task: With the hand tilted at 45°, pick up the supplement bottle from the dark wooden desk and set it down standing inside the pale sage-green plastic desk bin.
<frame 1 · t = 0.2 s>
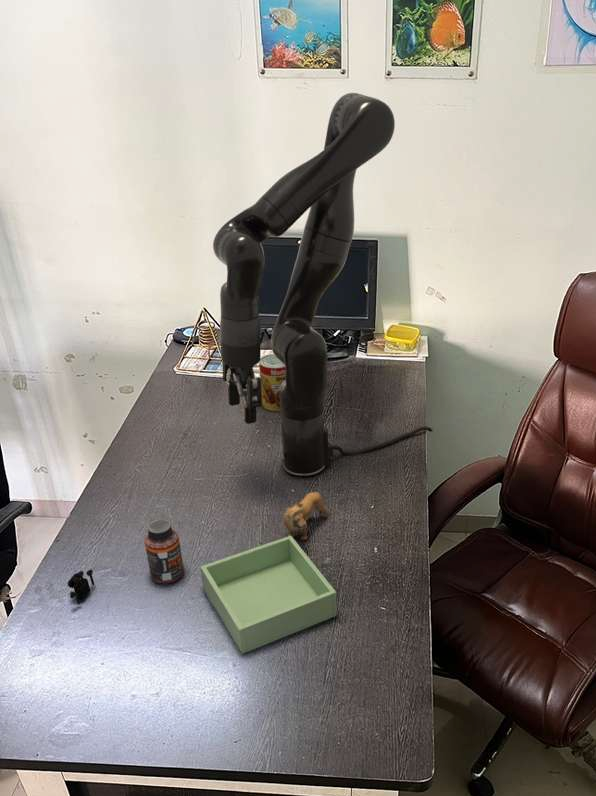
hand: (242, 413, 150), 17 cm above the table, tool pointing down, fingers open, 8 cm apart
desk bin: (269, 602, 131), on the table
supplement bottle: (168, 575, 137), on the table
black animal figurine: (82, 596, 132), on the table
lion figurine: (306, 531, 148), on the table
canned food: (278, 404, 189), on the table
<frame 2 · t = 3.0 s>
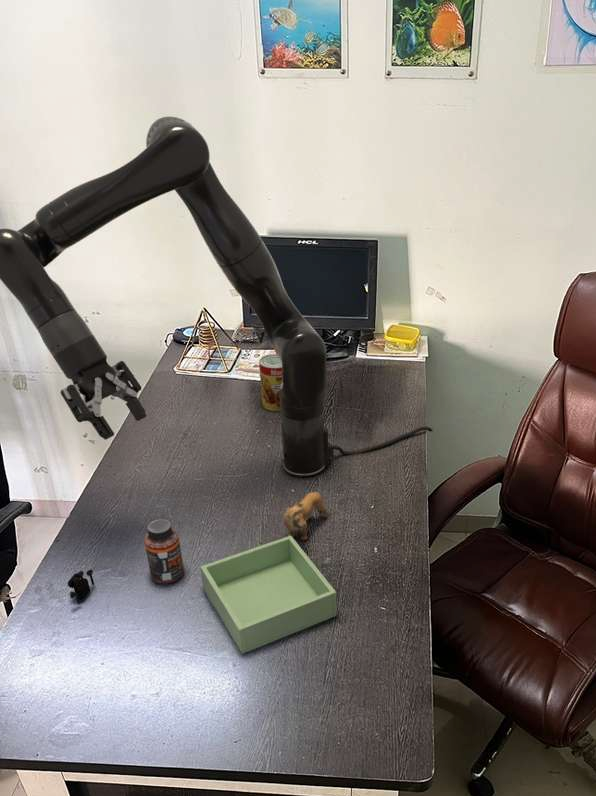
hand: (126, 427, 129), 26 cm above the table, tool tilted 35°, fingers open, 8 cm apart
nothing on the table moved.
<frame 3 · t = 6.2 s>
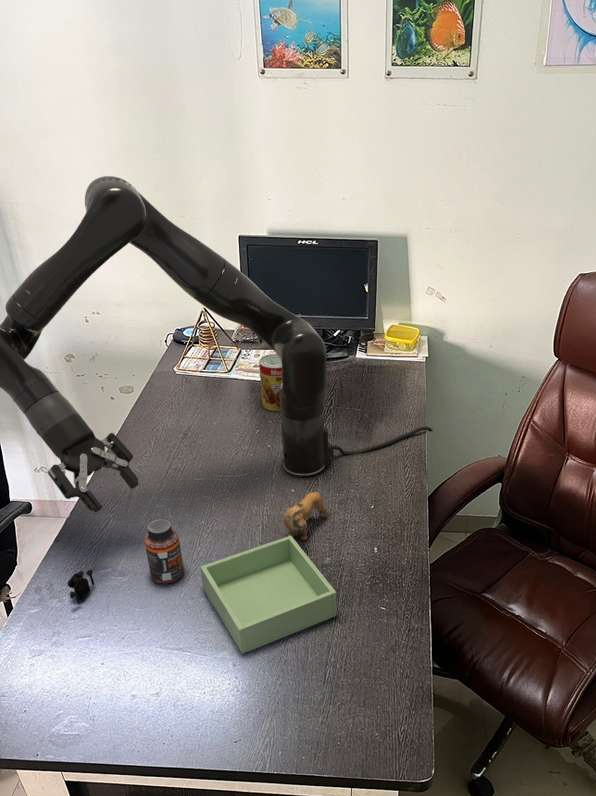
hand: (117, 498, 132), 14 cm above the table, tool tilted 45°, fingers open, 8 cm apart
nothing on the table moved.
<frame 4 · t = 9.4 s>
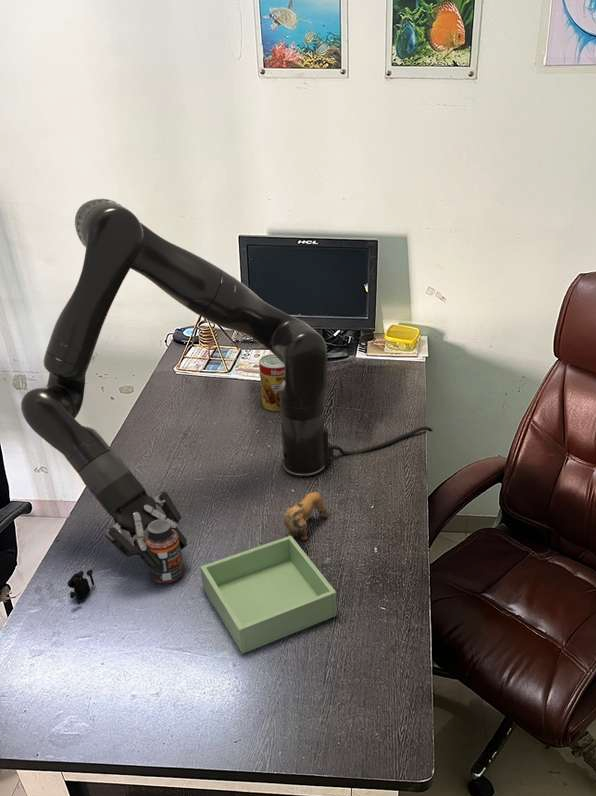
hand: (171, 557, 133), 5 cm above the table, tool tilted 45°, fingers closed on supplement bottle, 6 cm apart
supplement bottle: (168, 575, 137), on the table, touching gripper
everything else where it was.
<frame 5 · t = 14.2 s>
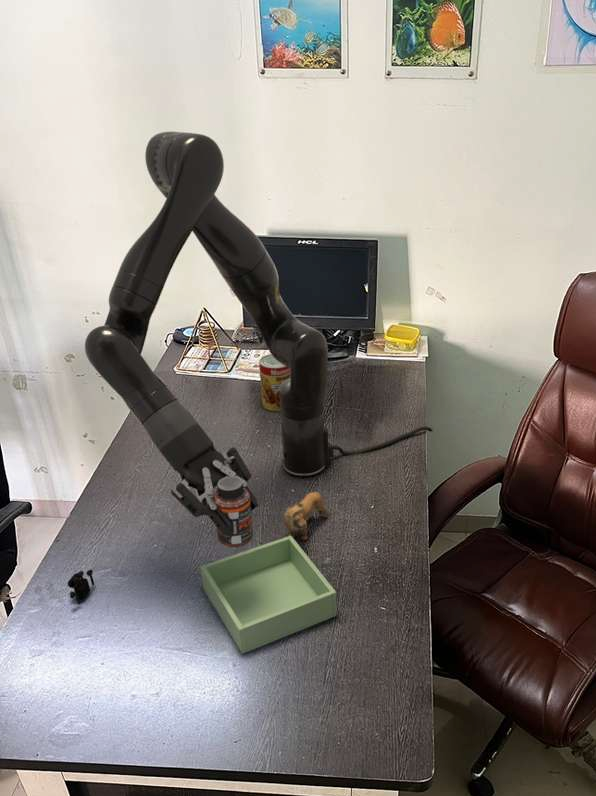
hand: (241, 518, 121), 18 cm above the table, tool tilted 45°, fingers closed on supplement bottle, 6 cm apart
supplement bottle: (236, 538, 125), point 13 cm above the table, touching gripper
everything else where it was.
when the fingers open (6 cm above the table, at t = 18.8 s): supplement bottle stays where it is, resting on desk bin.
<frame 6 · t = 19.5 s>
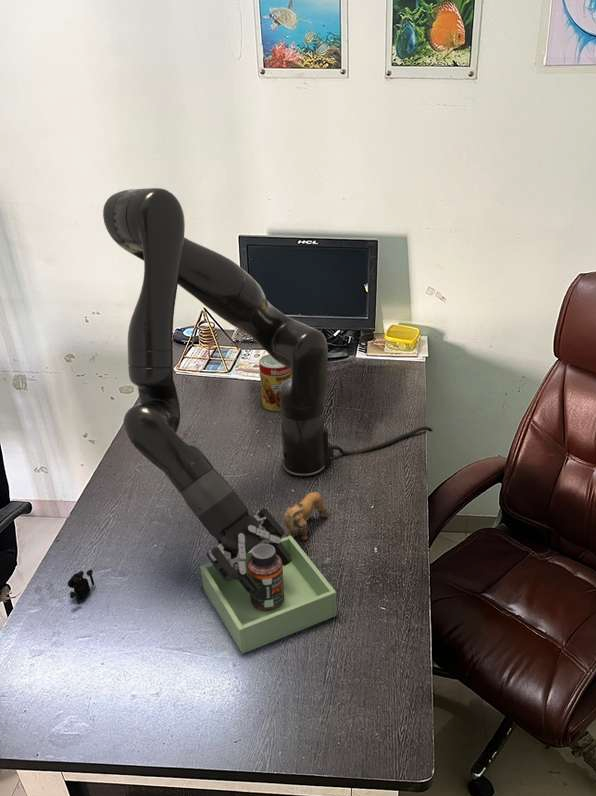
hand: (273, 577, 127), 7 cm above the table, tool tilted 45°, fingers open, 8 cm apart
supplement bottle: (267, 601, 131), resting on desk bin
everything else where it was.
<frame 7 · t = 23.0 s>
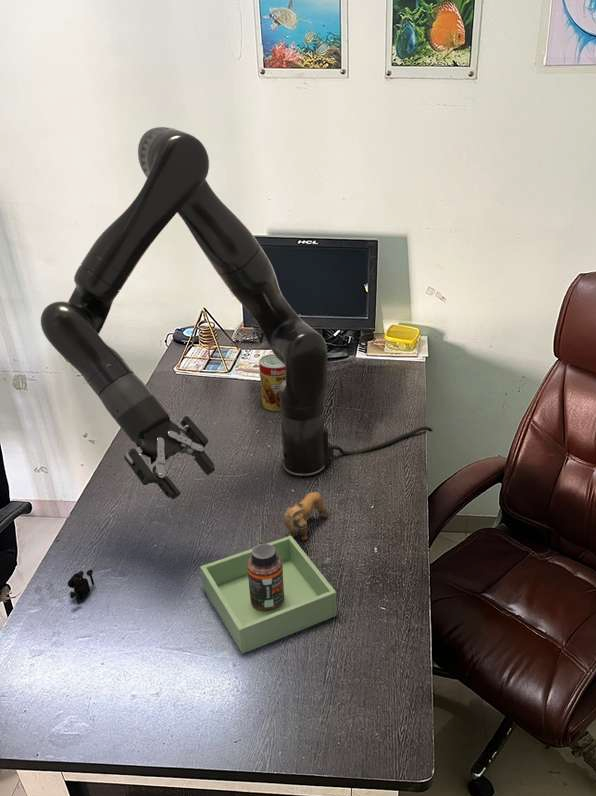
hand: (194, 484, 126), 20 cm above the table, tool tilted 45°, fingers open, 8 cm apart
nothing on the table moved.
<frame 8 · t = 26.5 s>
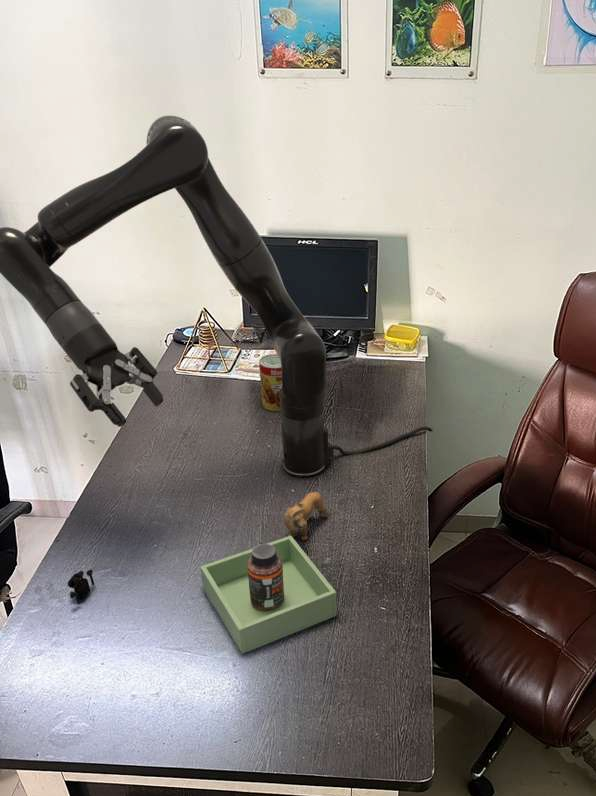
hand: (142, 413, 127), 29 cm above the table, tool tilted 45°, fingers open, 8 cm apart
nothing on the table moved.
at the end: supplement bottle inside the target area in the desk bin (0.2 cm from its centre), point 0.4 cm above the desk bin's base; supplement bottle tilted 0°; the gripper is holding nothing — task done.
